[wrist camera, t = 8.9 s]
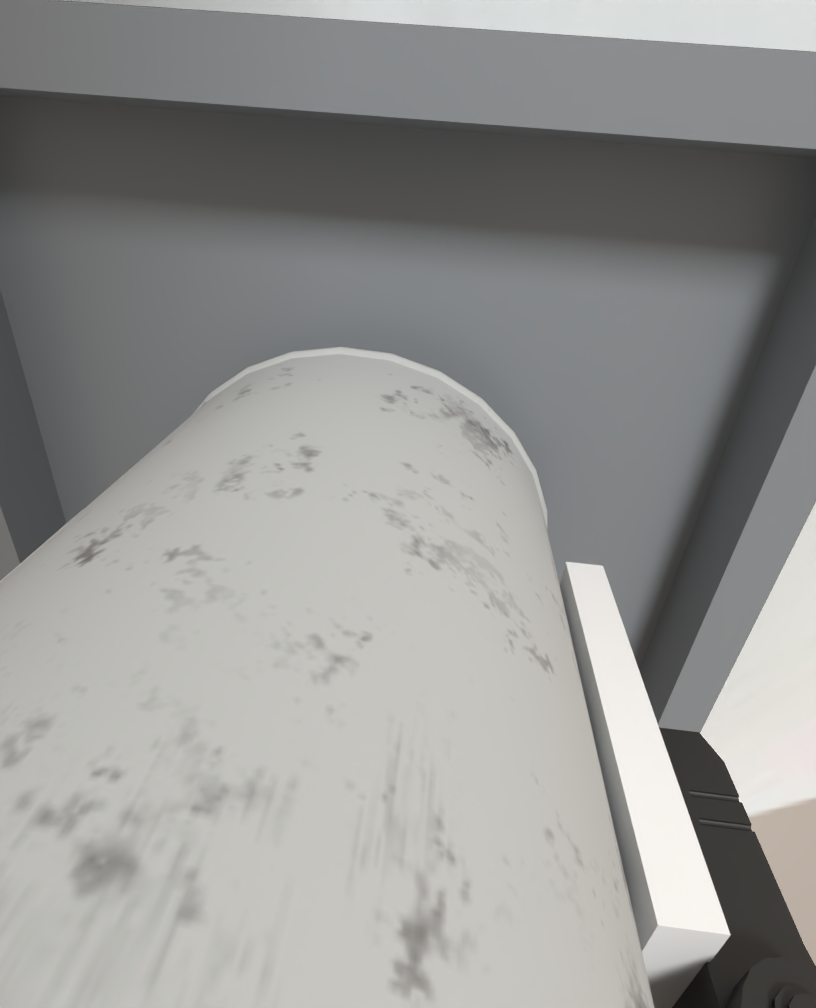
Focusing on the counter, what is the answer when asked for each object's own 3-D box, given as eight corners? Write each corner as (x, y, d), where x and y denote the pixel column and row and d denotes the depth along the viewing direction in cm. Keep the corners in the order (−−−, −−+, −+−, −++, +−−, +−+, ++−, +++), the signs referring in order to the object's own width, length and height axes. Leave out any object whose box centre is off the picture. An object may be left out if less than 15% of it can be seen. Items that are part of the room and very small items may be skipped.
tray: (-93, 22, 12) (-250, -21, 9) (899, 93, 11) (1033, 66, 8) (103, 690, 22) (54, 759, 19) (625, 754, 21) (648, 835, 18)
